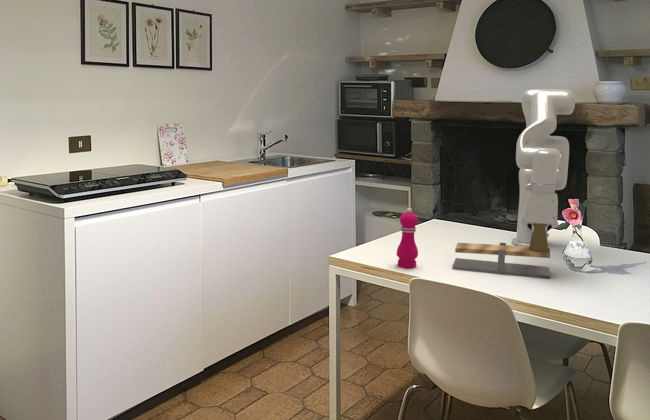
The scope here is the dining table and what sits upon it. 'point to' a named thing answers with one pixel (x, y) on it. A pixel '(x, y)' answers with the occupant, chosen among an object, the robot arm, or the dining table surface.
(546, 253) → the beam
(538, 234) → the cork
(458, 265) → the stand
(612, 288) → the dining table surface
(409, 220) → the pepper mill
